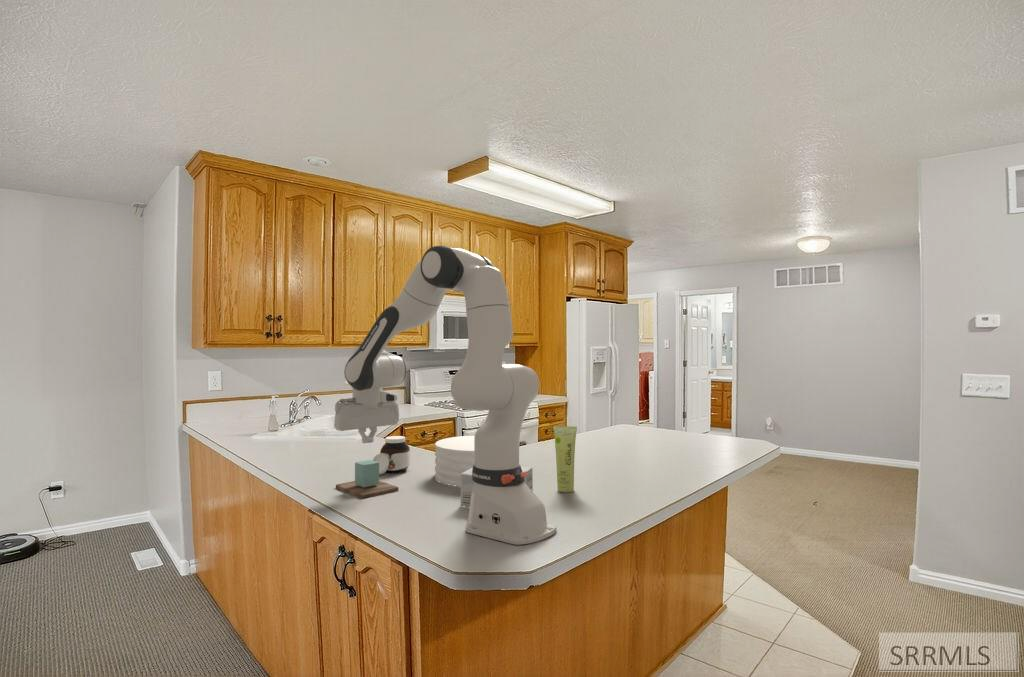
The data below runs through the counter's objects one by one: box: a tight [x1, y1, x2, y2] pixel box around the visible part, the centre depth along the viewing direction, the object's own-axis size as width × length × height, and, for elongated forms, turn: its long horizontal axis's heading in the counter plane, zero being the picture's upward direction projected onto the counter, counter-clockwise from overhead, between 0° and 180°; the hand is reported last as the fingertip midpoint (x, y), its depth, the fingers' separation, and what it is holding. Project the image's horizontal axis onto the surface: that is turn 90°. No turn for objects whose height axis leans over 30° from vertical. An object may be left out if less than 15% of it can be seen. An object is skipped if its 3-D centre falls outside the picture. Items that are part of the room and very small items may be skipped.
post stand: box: [335, 480, 399, 499], centre depth 158 cm, size 16×12×8 cm
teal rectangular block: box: [354, 459, 380, 488], centre depth 158 cm, size 5×5×7 cm
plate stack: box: [434, 435, 475, 487], centre depth 175 cm, size 28×28×12 cm
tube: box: [552, 425, 578, 493], centre depth 158 cm, size 6×5×20 cm
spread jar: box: [372, 435, 411, 476], centre depth 180 cm, size 12×11×12 cm
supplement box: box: [459, 466, 534, 508], centre depth 145 cm, size 17×13×9 cm
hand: (367, 442), depth 158 cm, fingers closed
